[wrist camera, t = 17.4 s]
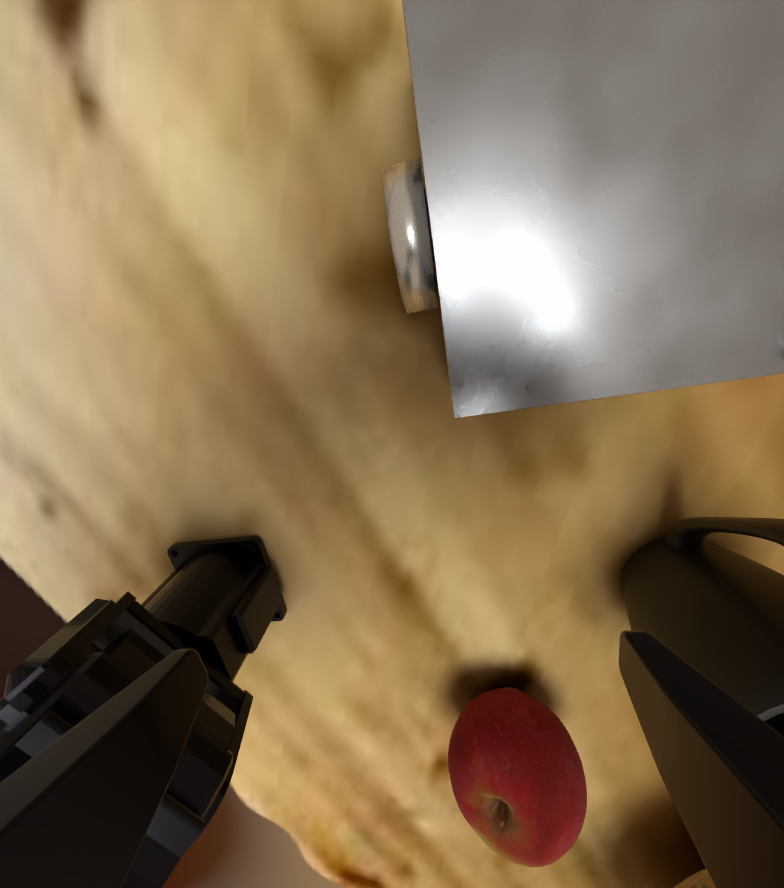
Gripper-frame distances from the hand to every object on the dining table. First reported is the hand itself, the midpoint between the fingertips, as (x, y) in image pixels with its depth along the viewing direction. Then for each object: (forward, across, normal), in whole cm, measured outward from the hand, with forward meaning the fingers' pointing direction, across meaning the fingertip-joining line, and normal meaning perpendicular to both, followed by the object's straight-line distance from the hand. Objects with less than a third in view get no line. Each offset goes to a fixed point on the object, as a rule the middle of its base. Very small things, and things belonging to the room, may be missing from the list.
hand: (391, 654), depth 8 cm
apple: (+13, -3, +20) cm, 24 cm away
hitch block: (+13, -7, -9) cm, 17 cm away
